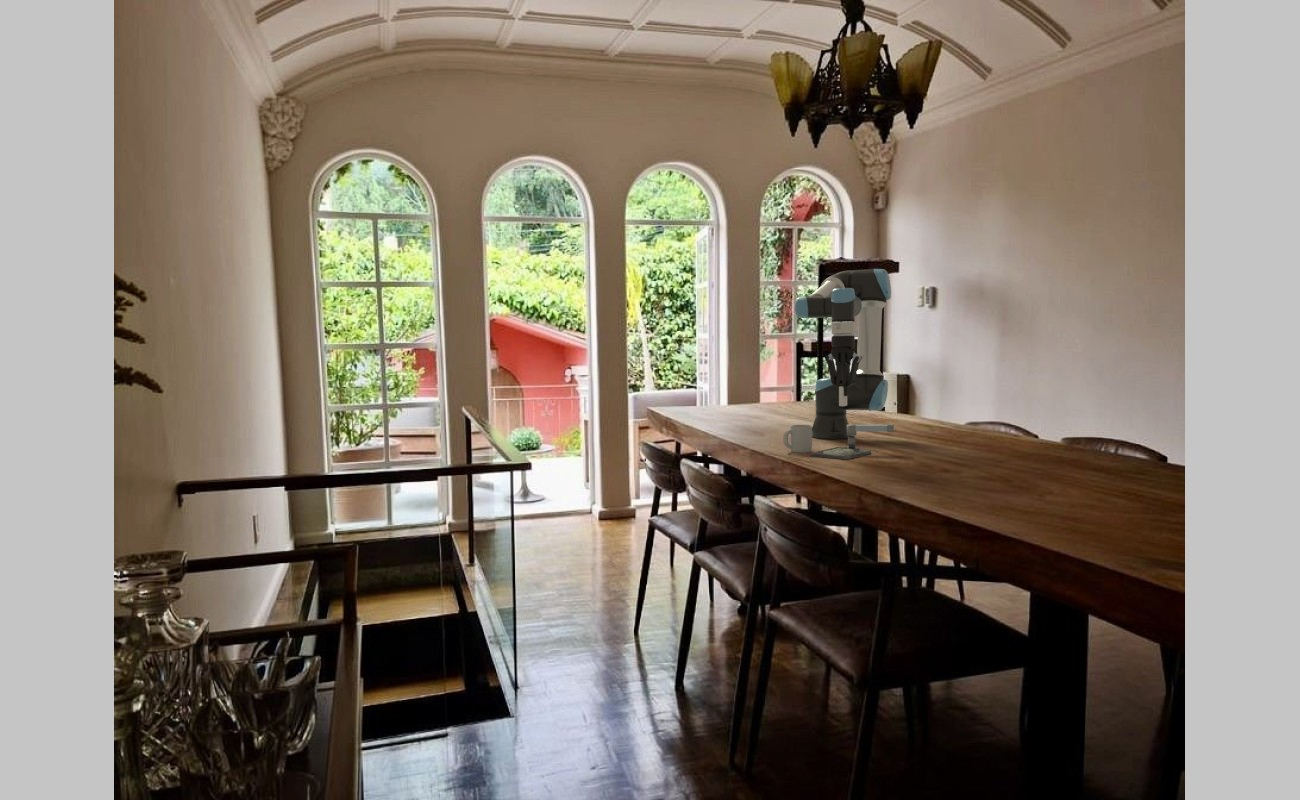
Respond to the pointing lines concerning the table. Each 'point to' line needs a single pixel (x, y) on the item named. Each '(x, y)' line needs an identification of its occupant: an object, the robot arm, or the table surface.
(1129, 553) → the table surface
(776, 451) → the table surface
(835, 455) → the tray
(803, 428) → the cup
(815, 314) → the robot arm
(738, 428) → the table surface
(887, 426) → the cable arm
